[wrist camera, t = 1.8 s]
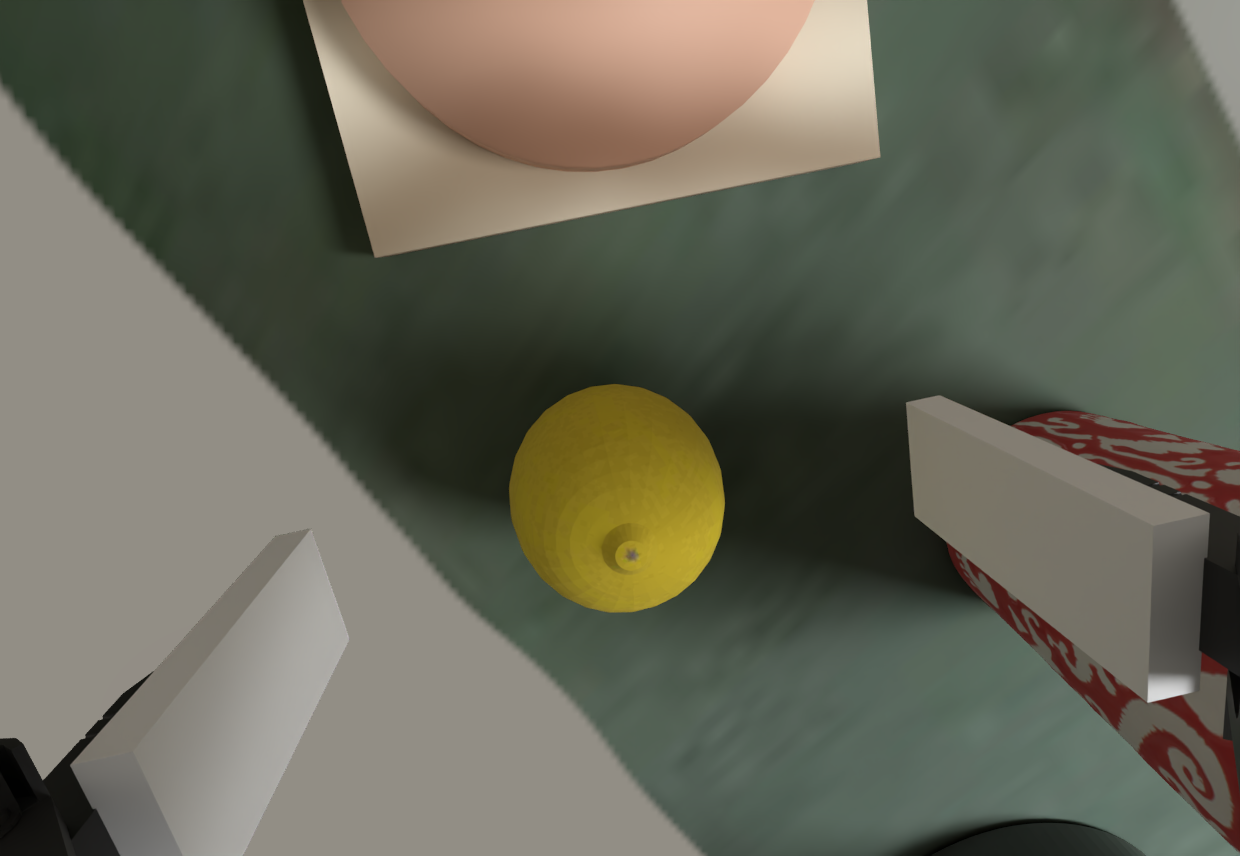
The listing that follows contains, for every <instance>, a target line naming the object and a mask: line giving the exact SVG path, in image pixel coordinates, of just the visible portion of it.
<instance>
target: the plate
mask: <svg viewBox="0 0 1240 856" xmlns="http://www.w3.org/2000/svg"><path fill="white" fill-rule="evenodd" d="M303 2H304V6H305V9H306V13H307V17H308V20H309V24H310V27H311V31H312V34H313V38H314V42H315V45H316V49H317V52H318V56H319V59H320V63H321V67H322V70H323V74H324V77H325V81H326V84H327V88H328V92H329V95H330V99H331V102H332V106H333V109H334V113H335V117H336V120H337V124H338V127H339V131H340V134H341V138H342V142H343V145H344V149H345V152H346V156H347V160H348V163H349V167H350V170H351V174H352V177H353V181H354V185H355V188H356V192H357V195H358V199H359V202H360V206H361V210H362V213H363V217H364V220H365V224H366V227H367V231H368V235H369V238H370V242H371V245H372V249H373V252H374V256H375V258H379V257H389V256H394V255H399V254H404V253H409V252H414V251H419V250H424V249H429V248H434V247H439V246H444V245H449V244H454V243H459V242H464V241H469V240H474V239H479V238H484V237H489V236H494V235H499V234H504V233H509V232H514V231H519V230H524V229H529V228H534V227H539V226H544V225H549V224H554V223H559V222H564V221H569V220H574V219H579V218H584V217H589V216H594V215H599V214H604V213H609V212H615V211H620V210H625V209H630V208H635V207H640V206H645V205H650V204H655V203H660V202H665V201H670V200H675V199H680V198H685V197H690V196H695V195H700V194H705V193H710V192H715V191H720V190H725V189H730V188H735V187H740V186H745V185H750V184H755V183H760V182H765V181H770V180H775V179H780V178H785V177H790V176H795V175H800V174H805V173H810V172H815V171H820V170H825V169H830V168H835V167H840V166H845V165H850V164H855V163H860V162H864V161H867V160H871V159H875V158H879V157H880V148H879V136H878V124H877V113H876V101H875V89H874V78H873V66H872V55H871V43H870V31H869V20H868V8H867V0H303Z"/></svg>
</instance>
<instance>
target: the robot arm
mask: <svg viewBox="0 0 1240 856" xmlns="http://www.w3.org/2000/svg"><path fill="white" fill-rule="evenodd" d="M906 409H907V423H908V436H909V450H910V463H911V477H912V490H913V503H914V516H915V517H916V518H917V519H919V520H920V521H921V522H922V523H924V524H925V525H926V526H927V527H929V528H930V529H931V530H932V531H934V532H935V533H936V534H937V535H939V536H940V537H941V538H942V539H944V540H945V541H946V542H947V543H949V544H950V545H951V546H952V547H954V548H955V549H956V550H957V551H959V552H960V553H961V554H962V555H964V556H965V557H966V558H967V559H969V560H970V561H971V562H972V563H974V564H975V565H976V566H977V567H979V568H980V569H981V570H982V571H984V572H985V573H986V574H987V575H989V576H990V577H991V578H992V579H994V580H995V581H996V582H997V583H999V584H1000V585H1001V586H1002V587H1004V588H1005V589H1006V590H1007V591H1009V592H1010V593H1011V594H1012V595H1014V596H1015V597H1016V598H1017V599H1019V600H1020V601H1021V602H1022V603H1024V604H1025V605H1026V606H1027V607H1029V608H1030V609H1031V610H1032V611H1034V612H1035V613H1036V614H1037V615H1039V616H1040V617H1041V618H1042V619H1044V620H1045V621H1046V622H1047V623H1049V624H1050V625H1051V626H1052V627H1054V628H1055V629H1056V630H1057V631H1059V632H1060V633H1061V634H1062V635H1064V636H1065V637H1066V638H1067V639H1069V640H1070V641H1071V642H1072V643H1074V644H1075V645H1076V646H1077V647H1079V648H1080V649H1081V650H1082V651H1084V652H1085V653H1086V654H1087V655H1088V656H1090V657H1091V658H1092V659H1093V660H1095V661H1096V662H1097V663H1098V664H1100V665H1101V666H1102V667H1103V668H1105V669H1106V670H1107V671H1108V672H1110V673H1111V674H1112V675H1113V676H1115V677H1116V678H1117V679H1118V680H1120V681H1121V682H1122V683H1123V684H1125V685H1126V686H1127V687H1128V688H1130V689H1131V690H1132V691H1133V692H1135V693H1136V694H1137V695H1138V696H1140V697H1141V698H1142V699H1143V700H1145V701H1146V702H1147V703H1149V702H1153V701H1157V700H1162V699H1166V698H1170V697H1175V696H1179V695H1184V694H1188V693H1192V692H1197V691H1199V690H1200V673H1201V656H1202V653H1204V654H1205V655H1207V656H1208V657H1210V658H1212V659H1213V660H1215V661H1216V662H1218V663H1219V664H1221V665H1222V666H1224V667H1225V668H1227V669H1228V672H1227V686H1226V700H1225V714H1224V728H1223V739H1225V740H1230V741H1233V748H1234V755H1235V762H1236V770H1237V777H1238V784H1239V792H1240V516H1237V515H1235V514H1233V513H1230V512H1228V511H1226V510H1223V509H1221V508H1219V507H1216V506H1214V505H1211V504H1209V503H1207V502H1204V501H1202V500H1200V499H1197V498H1195V497H1192V496H1190V495H1188V494H1184V495H1182V494H1181V491H1178V490H1176V489H1174V488H1171V487H1169V486H1166V485H1160V484H1159V482H1157V481H1155V480H1152V479H1150V478H1147V477H1145V476H1143V475H1140V474H1138V473H1136V472H1133V471H1130V470H1125V469H1120V468H1115V467H1111V466H1106V465H1101V464H1096V463H1094V462H1091V461H1089V460H1087V459H1084V458H1082V457H1080V456H1078V455H1075V454H1073V453H1071V452H1068V451H1066V450H1064V449H1062V448H1059V447H1057V446H1055V445H1052V444H1050V443H1048V442H1045V441H1043V440H1041V439H1039V438H1036V437H1034V436H1032V435H1029V434H1027V433H1025V432H1023V431H1020V430H1018V429H1016V428H1013V427H1011V426H1009V425H1007V424H1004V423H1002V422H1000V421H997V420H995V419H993V418H991V417H988V416H986V415H984V414H981V413H979V412H977V411H975V410H972V409H970V408H968V407H965V406H963V405H961V404H958V403H956V402H954V401H952V400H949V399H947V398H945V397H942V396H940V395H938V396H934V397H929V398H924V399H920V400H915V401H910V402H906ZM348 641H349V636H348V633H347V630H346V627H345V624H344V622H343V618H342V616H341V613H340V610H339V607H338V604H337V601H336V599H335V596H334V593H333V590H332V587H331V584H330V581H329V579H328V575H327V573H326V570H325V567H324V564H323V561H322V558H321V555H320V553H319V550H318V547H317V544H316V541H315V539H314V535H313V532H312V530H311V529H306V530H302V531H297V532H292V533H288V534H283V535H279V536H275V537H274V538H273V539H272V540H271V542H270V543H269V544H268V545H267V546H266V547H265V548H264V549H263V550H262V552H261V553H260V554H259V555H258V556H257V557H256V558H255V559H254V561H253V562H252V563H251V564H250V565H249V566H248V567H247V568H246V569H245V570H244V572H243V573H242V574H241V575H240V576H239V577H238V578H237V579H236V581H235V582H234V583H233V584H232V585H231V586H230V587H229V588H228V590H227V591H226V592H225V593H224V594H223V595H222V596H221V598H219V600H218V601H217V602H216V603H215V604H214V605H213V606H212V607H211V609H210V610H209V611H208V612H207V613H206V614H205V615H204V616H203V617H202V619H201V620H200V621H199V622H198V623H197V624H196V625H195V626H194V628H193V629H192V630H191V631H190V632H189V633H188V634H187V635H186V636H185V637H184V639H183V640H182V641H181V642H180V643H179V644H178V645H177V646H176V648H175V649H174V650H173V651H172V652H171V653H170V654H169V655H168V657H167V658H166V659H165V660H164V661H163V662H162V663H161V664H160V665H159V667H158V668H157V669H156V670H155V671H153V672H152V673H150V674H149V675H148V676H146V677H145V678H144V679H142V680H141V681H139V682H138V683H137V684H135V685H134V686H133V687H131V688H130V689H129V690H127V691H126V692H125V693H123V694H122V695H121V696H120V697H119V699H118V700H117V701H116V702H115V703H114V704H113V705H112V706H111V707H110V708H109V709H108V711H107V712H106V713H105V714H104V715H103V720H98V721H97V723H96V724H95V725H94V726H93V727H92V728H91V729H90V730H89V731H88V732H87V734H86V738H85V739H81V740H80V741H79V742H78V743H77V744H76V745H75V746H74V748H73V749H72V750H71V751H70V752H69V753H68V754H67V755H66V756H65V757H64V758H63V759H62V761H61V762H60V763H59V764H58V765H57V766H56V767H55V768H54V769H53V771H52V772H51V773H50V774H49V775H48V776H47V777H46V778H45V779H44V780H42V779H41V777H40V775H39V773H38V771H37V769H36V767H35V765H34V763H33V762H32V760H31V758H30V756H29V754H28V752H27V750H26V748H25V747H24V745H23V743H22V742H20V741H19V740H18V739H16V738H8V739H7V738H6V739H0V856H243V855H244V853H245V851H246V849H247V847H248V845H249V843H250V841H251V839H252V837H253V835H254V833H255V830H256V829H257V827H258V824H259V822H260V820H261V818H262V816H263V814H264V812H265V810H266V808H267V806H268V804H269V802H270V800H271V798H272V796H273V794H274V792H275V790H276V788H277V786H278V784H279V782H280V780H281V778H282V776H283V774H284V772H285V770H286V768H287V766H288V763H289V762H290V759H291V757H292V755H293V753H294V751H295V749H296V747H297V745H298V743H299V741H300V739H301V737H302V735H303V733H304V731H305V729H306V727H307V725H308V723H309V721H310V719H311V717H312V714H313V713H314V711H315V709H316V707H317V705H318V702H319V701H320V698H321V696H322V694H323V692H324V690H325V688H326V686H327V684H328V682H329V680H330V678H331V676H332V674H333V672H334V670H335V668H336V666H337V664H338V662H339V660H340V658H341V656H342V654H343V652H344V649H345V648H346V646H347V644H348ZM931 856H1146V855H1145V854H1143V853H1142V852H1141V851H1140V850H1138V849H1137V848H1136V847H1134V846H1133V845H1131V844H1130V843H1128V842H1126V841H1125V840H1123V839H1121V838H1119V837H1116V836H1114V835H1112V834H1109V833H1107V832H1104V831H1101V830H1097V829H1094V828H1090V827H1085V826H1080V825H1073V824H1064V823H1034V824H1023V825H1016V826H1010V827H1005V828H1000V829H996V830H992V831H989V832H985V833H982V834H979V835H976V836H973V837H970V838H967V839H965V840H962V841H960V842H957V843H955V844H953V845H951V846H949V847H946V848H944V849H942V850H940V851H939V852H937V853H935V854H933V855H931Z"/></svg>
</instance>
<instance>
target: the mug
mask: <svg viewBox="0 0 1240 856" xmlns="http://www.w3.org/2000/svg"><path fill="white" fill-rule="evenodd" d="M1011 427H1013V428H1016V429H1018V430H1020V431H1023V432H1025V433H1027V434H1029V435H1032V436H1034V437H1036V438H1039V439H1041V440H1043V441H1045V442H1048V443H1050V444H1052V445H1055V446H1057V447H1059V448H1062V449H1064V450H1066V451H1068V452H1071V453H1073V454H1075V455H1078V456H1080V457H1082V458H1084V459H1087V460H1089V461H1091V462H1094V463H1096V464H1101V465H1106V466H1111V467H1115V468H1120V469H1125V470H1130V471H1133V472H1136V473H1138V474H1140V475H1143V476H1145V477H1147V478H1150V479H1152V480H1155V481H1157V482H1159V484H1160V485H1166V486H1169V487H1171V488H1174V489H1176V490H1178V491H1181V494H1182V495H1184V494H1188V495H1190V496H1192V497H1195V498H1197V499H1200V500H1202V501H1204V502H1207V503H1209V504H1211V505H1214V506H1216V507H1219V508H1221V509H1223V510H1226V511H1228V512H1230V513H1233V514H1235V515H1237V516H1240V451H1237V450H1233V449H1229V448H1225V447H1221V446H1218V445H1214V444H1210V443H1206V442H1201V441H1197V440H1193V439H1189V438H1185V437H1181V436H1177V435H1173V434H1170V433H1166V432H1162V431H1158V430H1154V429H1150V428H1147V427H1143V426H1140V425H1137V424H1134V423H1131V422H1127V421H1123V420H1116V419H1113V418H1109V417H1105V416H1101V415H1096V414H1091V413H1085V412H1079V411H1055V412H1050V413H1045V414H1040V415H1037V416H1033V417H1029V418H1027V419H1025V420H1022V421H1020V422H1017V423H1015V424H1014V425H1012V426H1011ZM947 547H948V551H949V555H950V557H951V559H952V562H953V564H954V566H955V568H956V569H957V571H958V572H959V574H960V575H961V577H962V578H963V579H964V580H965V582H966V583H967V584H968V585H969V586H970V588H971V589H972V590H973V591H974V592H975V593H976V594H977V595H978V596H979V597H980V598H981V599H982V600H983V601H984V602H985V603H986V604H987V605H988V606H989V607H991V608H992V609H993V610H994V611H995V612H996V613H997V614H998V615H999V616H1000V617H1001V618H1002V619H1003V620H1005V621H1006V622H1007V623H1008V624H1009V625H1010V626H1011V627H1012V628H1013V629H1014V630H1015V631H1016V632H1017V633H1018V634H1019V635H1020V636H1021V637H1022V638H1023V639H1024V640H1025V641H1026V642H1027V643H1028V644H1029V645H1030V646H1031V647H1032V648H1033V649H1034V650H1035V651H1036V652H1037V653H1038V654H1039V655H1040V656H1041V657H1042V658H1043V659H1044V660H1045V661H1046V662H1047V663H1048V664H1049V665H1050V666H1051V667H1052V669H1053V670H1055V671H1056V672H1057V673H1058V674H1059V675H1060V676H1061V677H1062V678H1063V679H1064V680H1065V681H1066V682H1067V683H1068V684H1069V685H1070V686H1071V687H1072V688H1073V689H1074V690H1075V691H1076V692H1077V693H1078V694H1079V695H1080V696H1081V697H1082V698H1083V699H1084V700H1085V701H1086V702H1087V703H1088V704H1089V705H1090V706H1091V707H1092V708H1093V709H1094V710H1095V711H1096V712H1097V713H1098V714H1099V715H1100V716H1101V717H1102V718H1103V719H1104V720H1105V721H1106V722H1107V723H1108V724H1109V725H1110V726H1112V727H1113V728H1114V729H1115V730H1116V731H1117V732H1118V733H1119V734H1120V735H1121V736H1122V737H1123V738H1124V739H1125V740H1126V741H1127V742H1128V743H1129V744H1130V745H1131V746H1132V747H1133V748H1134V749H1135V750H1136V751H1137V752H1138V754H1139V755H1140V756H1141V757H1142V758H1143V759H1144V760H1145V761H1146V762H1147V763H1148V764H1149V765H1150V766H1151V767H1152V768H1153V769H1154V770H1155V771H1156V772H1157V773H1158V774H1159V775H1160V776H1161V777H1162V778H1163V779H1164V780H1165V781H1166V782H1167V783H1168V784H1169V785H1170V786H1171V787H1172V788H1173V789H1174V790H1175V791H1176V792H1177V793H1178V794H1179V795H1180V796H1181V797H1182V798H1183V799H1184V800H1186V801H1187V802H1188V803H1189V804H1190V805H1191V806H1192V807H1193V808H1194V809H1195V810H1196V811H1197V812H1198V813H1199V814H1200V815H1201V816H1202V817H1203V818H1204V819H1205V820H1206V821H1207V822H1208V823H1209V824H1210V825H1211V826H1212V827H1213V828H1214V829H1215V830H1216V831H1217V832H1218V833H1219V834H1220V835H1221V836H1222V837H1223V838H1224V839H1225V840H1226V841H1227V842H1229V843H1230V844H1231V845H1232V846H1233V847H1234V848H1235V849H1236V850H1237V851H1238V852H1239V853H1240V792H1239V784H1238V777H1237V770H1236V762H1235V755H1234V748H1233V741H1230V740H1225V739H1223V728H1224V714H1225V700H1226V686H1227V672H1228V669H1227V668H1225V667H1224V666H1222V665H1221V664H1219V663H1218V662H1216V661H1215V660H1213V659H1212V658H1210V657H1208V656H1207V655H1205V654H1204V653H1202V656H1201V673H1200V690H1199V691H1197V692H1192V693H1188V694H1184V695H1179V696H1175V697H1170V698H1166V699H1162V700H1157V701H1153V702H1149V703H1147V702H1146V701H1145V700H1143V699H1142V698H1141V697H1140V696H1138V695H1137V694H1136V693H1135V692H1133V691H1132V690H1131V689H1130V688H1128V687H1127V686H1126V685H1125V684H1123V683H1122V682H1121V681H1120V680H1118V679H1117V678H1116V677H1115V676H1113V675H1112V674H1111V673H1110V672H1108V671H1107V670H1106V669H1105V668H1103V667H1102V666H1101V665H1100V664H1098V663H1097V662H1096V661H1095V660H1093V659H1092V658H1091V657H1090V656H1088V655H1087V654H1086V653H1085V652H1084V651H1082V650H1081V649H1080V648H1079V647H1077V646H1076V645H1075V644H1074V643H1072V642H1071V641H1070V640H1069V639H1067V638H1066V637H1065V636H1064V635H1062V634H1061V633H1060V632H1059V631H1057V630H1056V629H1055V628H1054V627H1052V626H1051V625H1050V624H1049V623H1047V622H1046V621H1045V620H1044V619H1042V618H1041V617H1040V616H1039V615H1037V614H1036V613H1035V612H1034V611H1032V610H1031V609H1030V608H1029V607H1027V606H1026V605H1025V604H1024V603H1022V602H1021V601H1020V600H1019V599H1017V598H1016V597H1015V596H1014V595H1012V594H1011V593H1010V592H1009V591H1007V590H1006V589H1005V588H1004V587H1002V586H1001V585H1000V584H999V583H997V582H996V581H995V580H994V579H992V578H991V577H990V576H989V575H987V574H986V573H985V572H984V571H982V570H981V569H980V568H979V567H977V566H976V565H975V564H974V563H972V562H971V561H970V560H969V559H967V558H966V557H965V556H964V555H962V554H961V553H960V552H959V551H957V550H956V549H955V548H954V547H952V546H951V545H950V544H949V543H947Z"/></svg>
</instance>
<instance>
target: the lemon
mask: <svg viewBox="0 0 1240 856" xmlns="http://www.w3.org/2000/svg"><path fill="white" fill-rule="evenodd" d="M509 496H510V508H511V518H512V523H513V525H514V528H515V531H516V534H517V537H518V539H519V542H520V545H521V548H522V550H523V552H524V554H525V556H526V557H527V558H528V560H529V561H530V563H531V564H532V566H533V567H534V569H535V570H536V571H537V573H538V574H539V576H540V577H541V578H542V579H543V580H544V581H545V582H546V583H547V584H549V585H550V586H551V587H552V588H553V589H555V590H556V591H557V592H558V593H559V594H561V595H562V596H564V597H565V598H567V599H569V600H572V601H574V602H576V603H578V604H580V605H582V606H584V607H587V608H591V609H596V610H600V611H605V612H634V611H638V610H642V609H646V608H650V607H654V606H657V605H659V604H661V603H663V602H665V601H667V600H669V599H671V598H673V597H675V596H677V595H678V594H679V593H681V592H682V591H683V590H684V589H685V588H687V587H688V586H689V585H690V584H691V583H693V582H694V581H695V580H696V578H697V577H698V576H699V574H700V573H701V572H702V570H703V569H704V568H705V566H706V565H707V564H708V562H709V561H710V559H711V557H712V554H713V552H714V550H715V547H716V545H717V542H718V540H719V538H720V535H721V529H722V522H723V515H724V508H725V498H724V490H723V483H722V475H721V469H720V466H719V464H718V461H717V459H716V456H715V454H714V451H713V449H712V447H711V444H710V442H709V440H708V438H707V437H706V436H705V434H704V433H703V432H702V430H701V429H700V428H699V426H698V425H697V424H696V423H695V421H694V420H693V419H692V417H691V416H690V415H689V414H687V413H686V412H685V411H683V410H682V409H681V408H679V407H678V406H677V405H675V404H674V403H673V402H671V401H670V400H669V399H667V398H666V397H663V396H661V395H659V394H656V393H654V392H651V391H649V390H646V389H644V388H641V387H634V386H627V385H620V384H610V385H601V386H592V387H589V388H586V389H583V390H580V391H578V392H575V393H572V394H570V395H567V396H566V397H564V398H563V399H561V400H560V401H558V402H557V403H556V404H554V405H553V406H551V407H550V408H548V409H547V410H545V411H544V413H543V414H542V415H541V416H540V417H539V418H538V420H537V421H536V422H535V423H534V424H533V425H532V427H531V428H530V429H529V430H528V432H527V433H526V436H525V438H524V440H523V442H522V444H521V446H520V448H519V450H518V452H517V454H516V456H515V459H514V464H513V469H512V474H511V479H510V484H509Z"/></svg>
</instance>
